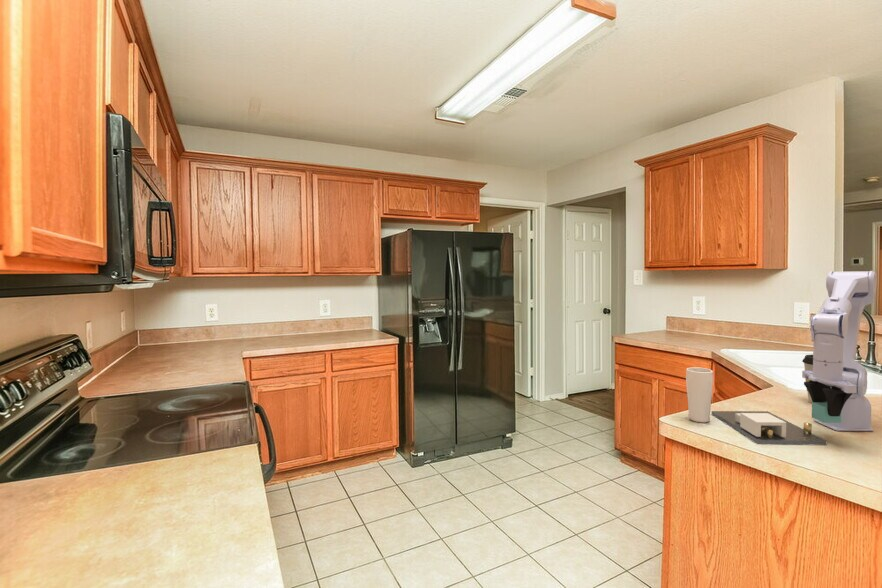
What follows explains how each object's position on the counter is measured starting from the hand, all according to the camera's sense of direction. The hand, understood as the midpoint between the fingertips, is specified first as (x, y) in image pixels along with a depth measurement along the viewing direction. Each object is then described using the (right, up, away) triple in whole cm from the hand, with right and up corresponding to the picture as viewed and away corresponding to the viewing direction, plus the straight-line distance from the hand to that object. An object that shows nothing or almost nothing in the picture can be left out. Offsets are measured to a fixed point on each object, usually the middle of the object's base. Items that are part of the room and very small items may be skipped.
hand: (826, 412), depth 109 cm
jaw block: (0, -2, 0) cm, 2 cm away
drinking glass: (-23, -7, +16) cm, 29 cm away
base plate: (-10, -7, +9) cm, 15 cm away
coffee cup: (+23, -5, +28) cm, 37 cm away
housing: (-14, -6, +6) cm, 16 cm away
